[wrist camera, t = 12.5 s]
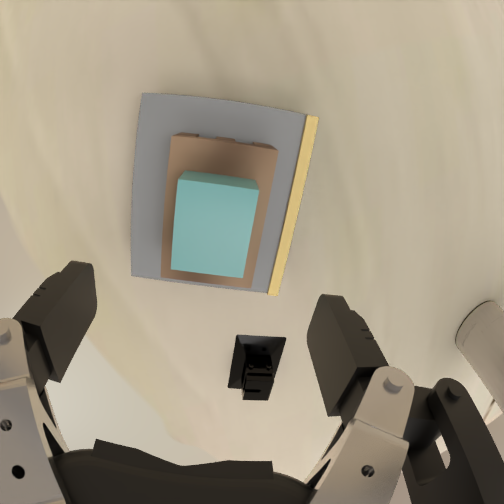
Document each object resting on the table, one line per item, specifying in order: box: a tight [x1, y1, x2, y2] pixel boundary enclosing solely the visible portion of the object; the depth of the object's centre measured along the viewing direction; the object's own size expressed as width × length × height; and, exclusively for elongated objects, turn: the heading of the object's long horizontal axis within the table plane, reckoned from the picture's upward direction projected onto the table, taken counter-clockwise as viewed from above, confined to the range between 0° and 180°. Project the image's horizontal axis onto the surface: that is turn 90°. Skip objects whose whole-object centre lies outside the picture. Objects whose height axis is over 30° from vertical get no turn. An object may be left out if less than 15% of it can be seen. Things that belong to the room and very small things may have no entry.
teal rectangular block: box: [171, 170, 259, 278], centre depth 16 cm, size 4×5×2 cm
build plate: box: [228, 335, 286, 400], centre depth 32 cm, size 12×7×5 cm, turn 171°
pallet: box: [161, 132, 279, 288], centre depth 19 cm, size 6×9×4 cm, turn 170°
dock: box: [131, 93, 319, 296], centre depth 22 cm, size 12×14×4 cm
